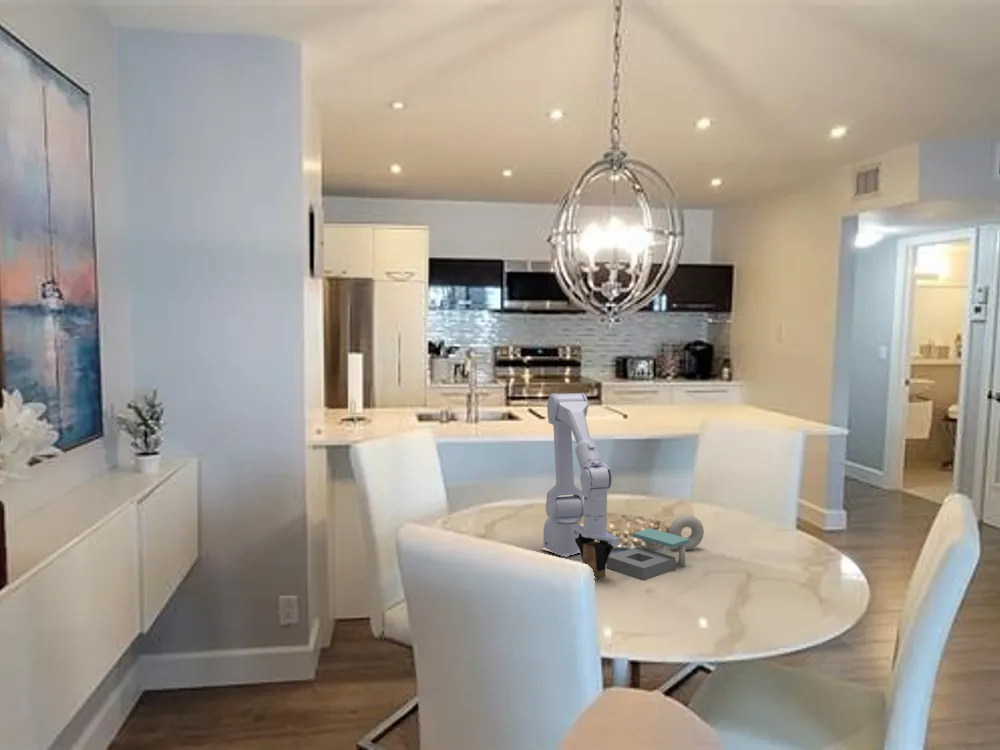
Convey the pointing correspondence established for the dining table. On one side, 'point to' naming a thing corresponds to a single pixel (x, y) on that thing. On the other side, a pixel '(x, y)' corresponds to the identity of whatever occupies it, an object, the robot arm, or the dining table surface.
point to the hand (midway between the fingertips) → (594, 567)
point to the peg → (592, 558)
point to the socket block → (641, 563)
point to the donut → (695, 528)
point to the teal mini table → (664, 541)
